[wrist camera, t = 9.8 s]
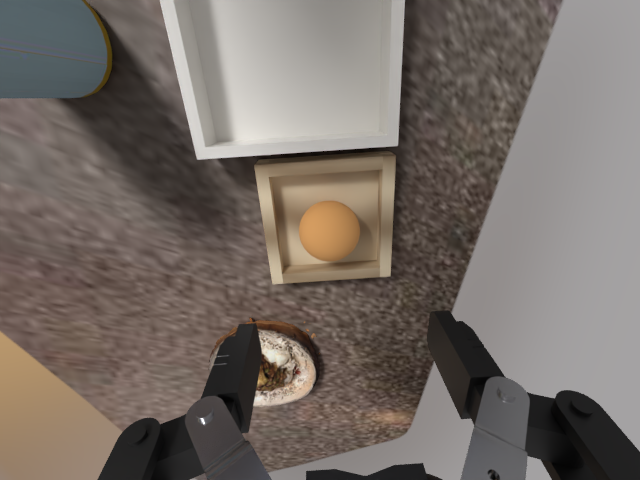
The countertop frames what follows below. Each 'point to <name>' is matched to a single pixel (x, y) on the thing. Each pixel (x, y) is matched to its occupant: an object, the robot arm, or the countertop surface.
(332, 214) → the ball
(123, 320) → the countertop surface
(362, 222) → the tray
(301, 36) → the dish
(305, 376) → the sushi roll
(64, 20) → the bottle
